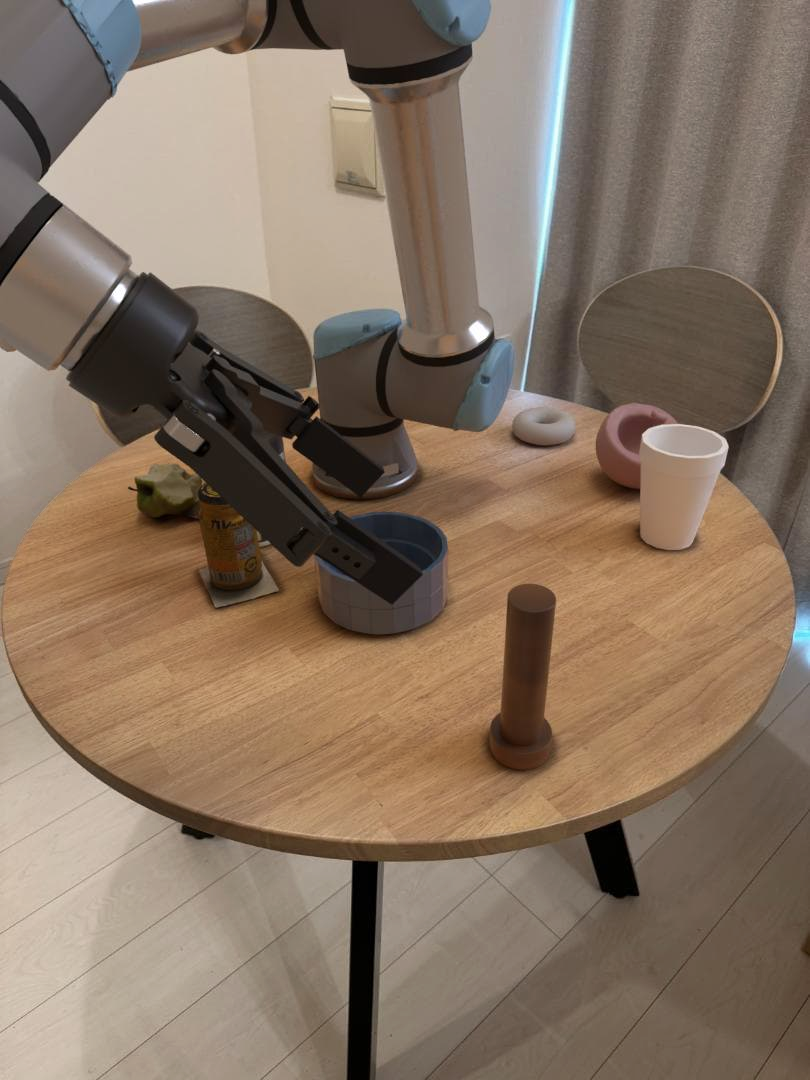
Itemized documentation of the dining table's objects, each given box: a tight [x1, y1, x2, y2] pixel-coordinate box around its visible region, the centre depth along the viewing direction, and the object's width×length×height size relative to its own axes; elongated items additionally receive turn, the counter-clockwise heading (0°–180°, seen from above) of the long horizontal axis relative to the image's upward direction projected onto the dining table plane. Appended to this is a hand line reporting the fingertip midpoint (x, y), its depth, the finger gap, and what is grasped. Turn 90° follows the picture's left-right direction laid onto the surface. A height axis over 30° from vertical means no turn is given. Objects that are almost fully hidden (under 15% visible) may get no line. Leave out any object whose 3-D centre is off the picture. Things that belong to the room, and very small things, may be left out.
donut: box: [511, 406, 577, 446], centre depth 117 cm, size 10×4×10 cm
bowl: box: [313, 511, 449, 635], centre depth 80 cm, size 14×14×7 cm
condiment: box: [198, 482, 280, 608], centre depth 83 cm, size 7×8×12 cm
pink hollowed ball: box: [595, 402, 679, 490], centre depth 100 cm, size 12×12×12 cm
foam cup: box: [639, 423, 730, 551], centre depth 88 cm, size 10×9×13 cm
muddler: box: [489, 583, 557, 771], centre depth 59 cm, size 5×5×16 cm
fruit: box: [127, 463, 203, 520], centre depth 99 cm, size 9×9×8 cm
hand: (387, 528), depth 50 cm, fingers open, 13 cm apart
